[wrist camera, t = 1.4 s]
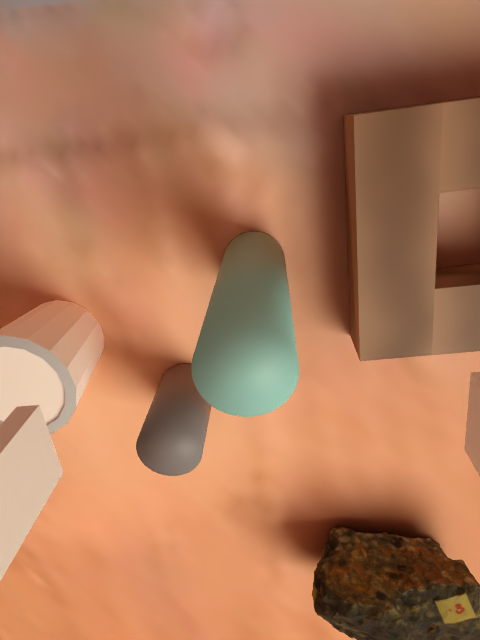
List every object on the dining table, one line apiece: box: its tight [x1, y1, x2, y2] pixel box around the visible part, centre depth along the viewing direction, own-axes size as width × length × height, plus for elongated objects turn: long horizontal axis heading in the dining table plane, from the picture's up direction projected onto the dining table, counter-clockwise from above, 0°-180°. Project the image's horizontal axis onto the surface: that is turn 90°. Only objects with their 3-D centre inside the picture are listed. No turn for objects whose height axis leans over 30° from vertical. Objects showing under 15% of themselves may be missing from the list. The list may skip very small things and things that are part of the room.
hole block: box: [343, 96, 480, 361], centre depth 27 cm, size 14×14×4 cm
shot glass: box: [0, 300, 104, 434], centre depth 30 cm, size 7×7×7 cm
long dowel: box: [191, 231, 299, 417], centre depth 23 cm, size 4×4×14 cm
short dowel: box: [136, 363, 211, 476], centre depth 31 cm, size 4×4×7 cm
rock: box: [312, 527, 480, 640], centre depth 37 cm, size 12×9×8 cm
